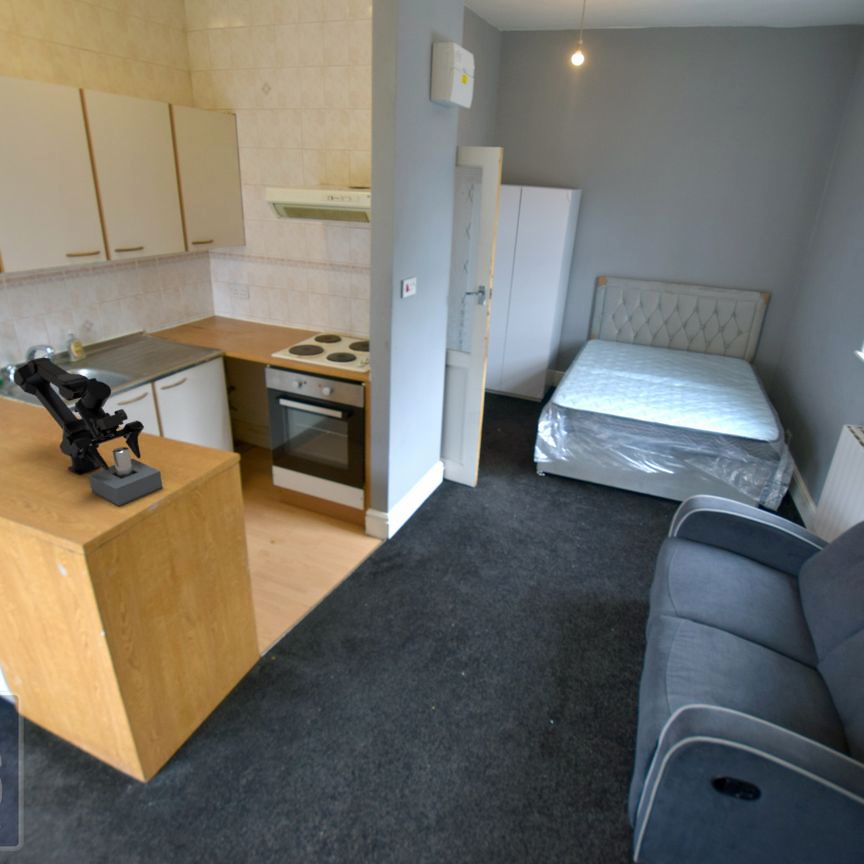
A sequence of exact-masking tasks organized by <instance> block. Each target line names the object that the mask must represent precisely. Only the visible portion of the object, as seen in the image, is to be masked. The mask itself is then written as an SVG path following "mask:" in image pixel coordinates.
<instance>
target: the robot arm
mask: <svg viewBox="0 0 864 864" xmlns="http://www.w3.org/2000/svg"><path fill="white" fill-rule="evenodd" d="M13 380H14V383H15V384H16V385H17V386H18V387H20V389H21V390H23V392H25V393H27V394H29V395H32V396H35V397H36V399H38V401H39V402H40V403H41V404H42V406H43V407H44V408H45V409H46V410H47V412H48V413H49V415H50V416H51V417H52V418H53V419H54V421H55V422H56V423H57V425H58V426H59V427H60V428H61V430H62V434H61V435H62V441H61V442H60V445H59V448H60V450H61V453H62V454H64V455H65V456H67V457H70V460H71V461H70V462H71V464H72V465H71V466H68V467H67V469H68V470H69V471H71V472H72V473H75V474H76V475H79V476H81V475H84V474H86V473H90V472H92V471H95V470H97V469H100V468H102V469H105V470H108V469H109V467H110V466H108V463H107V462H106V461H105V459H104V458H103V456H102V454H100V453H101V452H99V451H98V448H100V445H101V444H103V443H107V442H109V441H113V440H116V439H119V438H122V437H123V439H124V440H125V439H126V440H125V444H127V446H128V448H129V450H131V452H132V453H133V455H134V456H135V457H136V458H137V459H139V460H140V459H141V458H142V456H141V450H140V446H139V436H140V434H141V433H142V431H143V430H144V428H145V426H144V425H143V423H142V422H141V421H140V420H134V421H131V422H128V423H125V425H124V421H126V420H128V414H127V413H126V411H125V409H124V408H120V409H117V410H115V411H114V412H113V413H114V414H110V413H109V412H106V411H105V410H104V409H103V408H104V406H105V405H106V403H107V402H108V399H109V398H110V396H111V395H112V389H111V387H110V386H109V385H108V384H107V383H105V382H103V381H100V380H97V378H96V377H93V378H88V377H87V376H86V375H82V374H79V373H70V372H68V371H66V370H65V369H64V368H62V367H60V366H59V365H58V364H55V363H54V362H52V361H51V359H50V358H49V357H45V356H44V357H39V358H38V357H37V358H33V359H31V360H29V361H27V363H26V364H24V365H23V366H21V367H20V368H18V369H16V370H15V372H14V374H13ZM51 384H52V385H54V386H55V387H57V388H58V393H59V394H58V393H57V392H56V391H55V388H53V387H52V386H51ZM59 395H61V397H62V398H64V399H65V400H66V401H68V402H69V401H74V400H77V402H74V408H73V410H74V411H72V410H71V409H70V408H69V407H68V405H67V404H66V403H65V401H63V399H62V398H61V397H60V396H59ZM74 413H78V414H79V416H80V418H78V417H77V416H76V415H75V414H74ZM121 425H124V426H123V428H122V429H120V426H121ZM118 429H120V430H118Z"/></svg>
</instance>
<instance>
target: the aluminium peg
mask: <svg viewBox="0 0 864 864" xmlns="http://www.w3.org/2000/svg"><path fill="white" fill-rule="evenodd" d="M112 455H113V461H114V465H115V468H116V474H117V477H119V478H121V479H122V478H125V477H127V476H130V475H132V474H133V471H132V465H131V459H132V458H131V454H130V447H125V446H120V447H116V448H114V449H113V450H112Z"/></svg>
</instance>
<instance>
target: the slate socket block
mask: <svg viewBox="0 0 864 864" xmlns="http://www.w3.org/2000/svg"><path fill="white" fill-rule="evenodd" d="M130 459H131V465H132V471H133V474H132V475H130V476H127V477H125V478H122V479H121V478H119V477H117V474H116V468H115V464H113V465H112V466H108V467H109V469H108V470H105V469H104V468H102V469H100V470H97V471H94V472H91V473H89V474H88V481H89V485H90V490H91V493H93V494H95V495H96V496H98V497H100V498H102V499H104V500H106V501H107V502H109V503H112V504H113V505H115V506H116V507H118V508H119V507H121V506H124V505H126V504H129V503H132V502H133V501H135V500H138V499H141V498H143V497H146V496H147V495H150V494H152V493H155V492H156V491H159V490H161V489H163V482H162V476H161V475H162V474H161V471H160V470H158V469H156V468H155V467H152V466H150V465H148V464H145V463H143V462H141V461H139V460H137V459H134V458H130Z"/></svg>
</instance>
